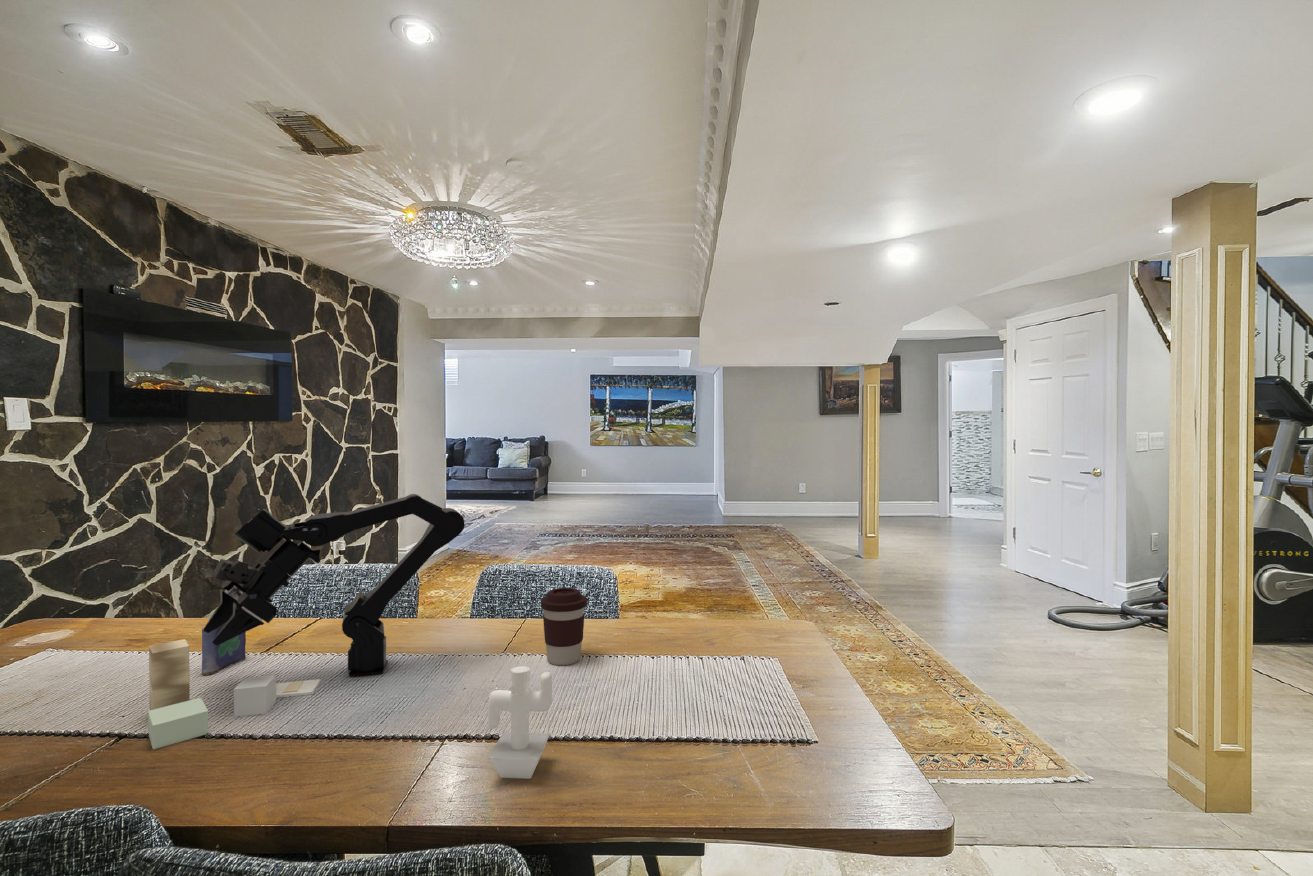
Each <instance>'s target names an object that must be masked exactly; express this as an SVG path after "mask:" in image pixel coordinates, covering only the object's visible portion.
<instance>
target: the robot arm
mask: <svg viewBox="0 0 1313 876" xmlns="http://www.w3.org/2000/svg"><path fill="white" fill-rule="evenodd" d="M409 515H413V516H416V517H417V518H420V519H421V520H423V521H425V522H427V523H428V526H427V528H426V530H425V531H424V533H423V535H422V537H421V539H419V541H417V543H416V544H414V546H413V547H412V548H411V549H410V550H409V551H408V552H407V553H406V554H405V555H404V556H403V557H402V559H401V560H399V562H398V563H397V564H396V565H395V566H394V567H393V568H392V569H391V570H390V571H389V572H388V574H387V575H386V576H384V578H383V579H382V580H381V581H380V582H379V583H378V584H377V585H376V586H375V587H374V588H373V589H372V590H371V591H369V592H368V593H366V594H364V592H362V591H361V590H360V591H358V593H357V594H356V595H355V597H353V600H351V601H350V602H348V603H347V604H346V605H345V609H344V613H343V614H342V615H343V616H342V623H341V630H342V633H343V634H344V635H345V636H346V637H347V638H350V639H351V640H352V641H351V642H350V648H349V649H348V651H347V670H348V671H349V672H348V677H357V676H367V675H379V674H383V673H384V672H385V670H386V668H387V665H388V663H389V660H388V659H387V636H386V635H385V625H384V622H383V621H382V620H380V618H381V616H382V615H383V613H384V611H385V609H386V607H387V605H388V603H389V602H391V600H392V599H393V598H394V597H395V595H397V594H398V593H399V592H400V591H401V589H402V588H403V587H404V586H405V585H406V584H407V583H408V582H409V581H410V579H412V577H413V576H414V575H415V574H416V573H417V572H418V571H419V570H420V569H421V568H422V567H423V566H424V565H425V563H426V562H427V561H428V560H429V559H430V558H431V557H432V556H433V555H434V554H435V552H437V551H438V550H440V549H441V548H443V547H444V546H446V545H447V544H449V543H450V542H451V541H453V540H454V539H455V538H457V537H458V536H459V535H461V534H462V532H463V531H464V529H465V519H464V516H462V515H463V514H461V513H460V512H459V511H458V510H456V509H454V508H452V507H444V508H443V507H441V506H439V505H437V504H434V503H433V502H430V501H429V500H427V499H424V498H422V497H421V496H420V495H418V494H417V493H411V494H408V495H406V496H404V497H400V498H396V499H392V500H389V501H384V502H381V503H377V504H374V505H370V506H366V507H365V506H364V507H363V508H358V509H354V510H351V511H338V512H336V511H334V512H326V513H318V514H317V513H316V514H313V515H311V516H309V517H308V518H306V520H305V521H302V522H301V521H300V522H295V523H290V524H287V525H285V524H284V523H283V522H281V521H280V520H279V519H277V518H276V517H275V516H273V514H272V513H271V512H270V511H269V510H268V509H266V508H264V509H262V510H260V511H259V512H258V513H257V514H256V515H255V516H254V517H253V518H251V519H250V520H248V521H247V522H246V523H244V525H242V527H241V528H239V529H238V530H237V531H236V532H235V533H234V534H233V536H235V537H236V539H239V540H240V541H241V542H243V543H244V544H245V545H247V546H249V548H251V549H253V551H255V552H256V553H258V554H259V553H261V552H263V553H265V552H266V553H269V552H271V550H273V549H274V548H275V547H276V546H277V545H278V544H279V543H280V541H282V540H284V541H283V543H281V545H279V546H278V547H277V549H275V550H274V551H273V552H272V553H271V554H270V555H269V556H268V557H267V558H266V559H265V560H264V561H263V562H261V561H259V562H257V561H256V563H254V565H252V566H250V565H248V563H247V562H246V561H244V562H243V561H241V560H235V561H232V560H228V559H224V558H220V559H219V561H218V563H217V565H216V567H215V568H214V571H213V572H212V573H211V575H212V576H213V577H214V579H216V580H219V581H223V583H222V584H220V587H221V588H223V589H221V588H220V589H219V595H220V601H219V604H218V605H217V607H216V608H215V609H214V612H213V614H212V615H210V618H209V620H208V621H207V622H206V624H205V626H204V627H203V628H204V629H203V630H204V631H205V632H206V633H209V632H211V631H213V630H215V629H216V628H218V627H220V626H221V625H223V624H225V623H226V622H227V623H226V624H225V625H224V626H223V628H222V629H221V630H220V631H219V633H218V634H217V635H216V637H215V638H214V640H213V641H212V643H213V644H215V645H220V644H222V643H224V642H226V641H228V640H230V639H232V638H234V637H236V636H238V635H240V634H242V633H244V632H246V633H247V632H248V631H250V630H253V629H255V628H257V627H258V626H263V625H265V623H267V624H270V622H271V621H272V620H273V619H274V618H275V617H276V616H277V613H278V612H277V611H278V608H277V607H276V606H275V605H274V604H273V603H272V602H273V599H272V598H273V597H274V595H275V594H276V593H278V592H279V590H281V588H282V587H285V588H287V587H288V586H289V585H290V584H291V582H289V580H291V578H292V577H293V576H294V575H295V574H296V573H297V572H298V571H299V570H300V569H301V568H302V567H303V566H304V565H305V564H306V563H307V562H308V561H309V560H311V561H312V562H313V563H314V564H319V563H320V562H321V556H320V555H321V551H322V550H321V549H313V548H312V547H315V548H316V547H321V546H324V545H326V544H328V543H330V542H333V541H335V540H337V539H339V538H341V537H343V536H345V535H347V534H348V533H351V532H353V531H355V530H360V529H362V528H366V527H370V526H373V525H377V524H378V525H379V524H381V523H384V522H388V521H391V520H395V519H399V518H403V517H406V516H409ZM294 541H300V542H299V543H298V544H297V543H296V542H294ZM310 546H311V547H310Z"/></svg>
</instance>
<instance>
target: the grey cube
mask: <svg viewBox="0 0 1313 876" xmlns="http://www.w3.org/2000/svg"><path fill="white" fill-rule="evenodd" d="M276 683H277V674H274V675H273V674H271V675H262V676H253V677H245V678H244V679H243V680H241V682H239V683H238V684H237V686H235V688H233V718H239V717H238V716H243V717H249V716H248V715H252V716H258V715H257V714H261V715H267V714H268V712H269V711H271V709H272V708H273V706H275V704H276V703H277V698H276ZM271 707H272V708H271ZM255 714H256V715H255Z"/></svg>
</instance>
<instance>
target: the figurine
mask: <svg viewBox="0 0 1313 876" xmlns="http://www.w3.org/2000/svg"><path fill="white" fill-rule="evenodd" d="M530 680H531V668H530V667H528V666H523V665H522V666H516V667H512V668H511V669H510V679H509V681H510V689H509V690H506V689H505V690H504V689H502V690H501V689H497V690H493V691H492V692H490V694H489V697H488V701H487V726H488V728H489V729H490V730H495V729H497V728H498V727H499V726H500V722H501V711H509V712H510V718H511V719H510V720H511V721H510V725H511V726H510V731H503V733H502V734H501V735H500V737H499V739H498V740H497V742H496V743H495V746H494V747H493V748H492V749H491V752H490V753H489V755H488V756H487V759H488V760H489V762H490V763H491V765H492V766H493V768H494V769H495V771H496V772H497V774H498V775H499V777H500V778H502V779H525V780H526V779H527V780H529V779H532V777H533V775H534V773H535V770H536V768H537V765H538V764H539V762H540V760H541V757H542V754H543V751H544V750H545V747H546V744H547V742H548V740H549V737H550V734H551V733H548V732H530V712H547V711H549V710H550V708H551V706H552V701H553V676H552V673H551V672H549V671H544V672H543V673H542V674H541V676H540V681H539V682H540V683H539V684H540V685H539V686H540V687H539V690H531V689H530Z"/></svg>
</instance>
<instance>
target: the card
mask: <svg viewBox="0 0 1313 876" xmlns="http://www.w3.org/2000/svg"><path fill="white" fill-rule="evenodd" d="M321 682H322V679H321V678H317V679H308V680H298V681H286V682H278V683H277V682H276V699H278V698H280V699H281V698H289V696H291V697H300V696H311V695H313V694H314V692H315V691H316V689H317V688H318V687H319V685H320V684H321Z"/></svg>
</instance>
